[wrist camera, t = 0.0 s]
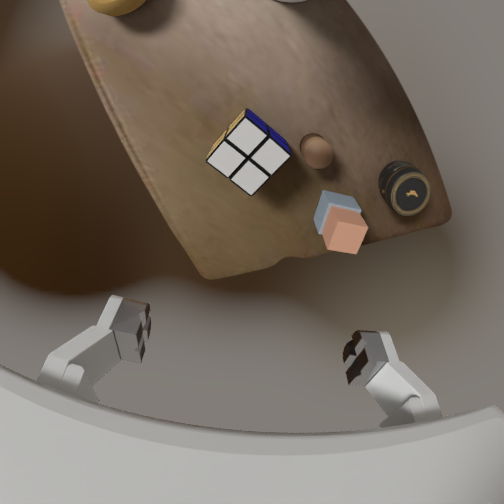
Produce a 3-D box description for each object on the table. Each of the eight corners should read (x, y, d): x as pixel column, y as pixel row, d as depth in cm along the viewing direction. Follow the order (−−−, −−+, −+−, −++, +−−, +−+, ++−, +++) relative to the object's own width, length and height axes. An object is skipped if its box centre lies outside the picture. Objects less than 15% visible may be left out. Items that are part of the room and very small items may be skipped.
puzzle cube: (286, 141, 53) (293, 155, 45) (251, 177, 57) (251, 198, 49) (246, 107, 49) (244, 114, 41) (212, 145, 54) (204, 161, 45)
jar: (372, 164, 55) (386, 178, 49) (413, 153, 53) (430, 165, 47) (379, 205, 60) (392, 222, 54) (417, 194, 58) (433, 209, 52)
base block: (322, 189, 59) (329, 202, 54) (353, 197, 59) (361, 210, 54) (313, 218, 63) (318, 233, 58) (342, 224, 63) (349, 239, 58)
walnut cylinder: (303, 130, 52) (308, 137, 47) (329, 137, 52) (337, 145, 47) (296, 155, 55) (301, 165, 50) (322, 161, 55) (328, 171, 50)
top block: (330, 205, 54) (338, 221, 49) (358, 211, 55) (368, 227, 50) (321, 232, 58) (327, 249, 53) (348, 237, 58) (356, 254, 53)
